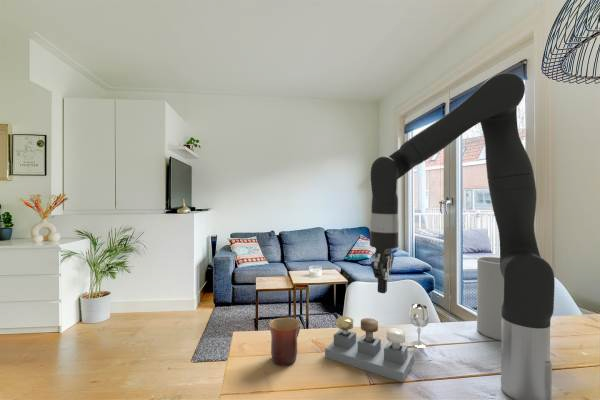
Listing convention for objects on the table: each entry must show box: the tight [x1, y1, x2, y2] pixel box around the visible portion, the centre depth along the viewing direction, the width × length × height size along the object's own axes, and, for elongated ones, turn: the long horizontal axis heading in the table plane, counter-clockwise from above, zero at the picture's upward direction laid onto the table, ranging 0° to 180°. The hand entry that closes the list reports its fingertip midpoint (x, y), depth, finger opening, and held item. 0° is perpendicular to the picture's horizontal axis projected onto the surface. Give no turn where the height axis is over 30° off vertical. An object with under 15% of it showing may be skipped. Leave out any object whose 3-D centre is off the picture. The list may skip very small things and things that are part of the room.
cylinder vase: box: [476, 256, 504, 341], centre depth 104 cm, size 12×12×25 cm
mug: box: [268, 317, 301, 366], centre depth 88 cm, size 12×9×10 cm
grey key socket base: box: [324, 329, 415, 383], centre depth 87 cm, size 22×12×5 cm, turn 57°
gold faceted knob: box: [336, 316, 354, 337], centre depth 91 cm, size 5×5×6 cm
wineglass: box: [408, 303, 430, 349], centre depth 96 cm, size 6×6×12 cm
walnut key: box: [360, 317, 379, 344], centre depth 87 cm, size 5×5×6 cm
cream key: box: [386, 327, 406, 351], centre depth 83 cm, size 5×5×6 cm
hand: (382, 292), depth 85 cm, fingers closed
